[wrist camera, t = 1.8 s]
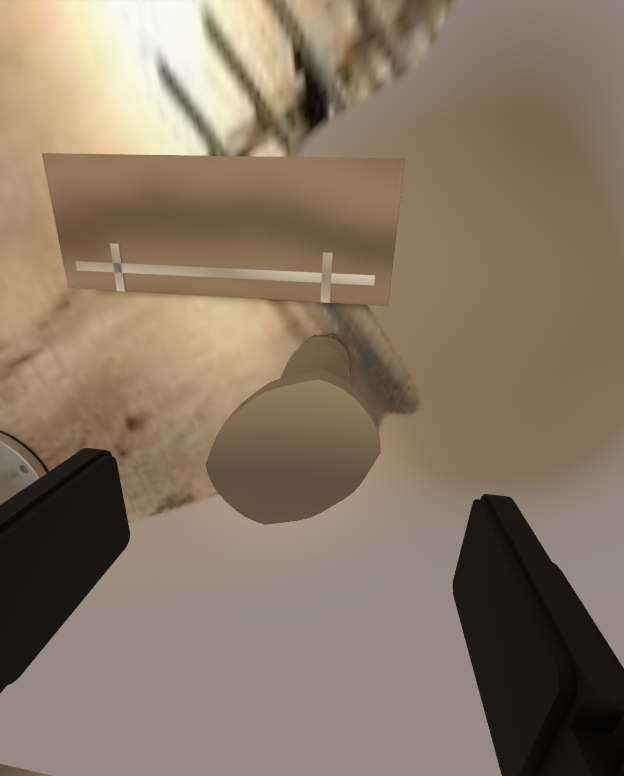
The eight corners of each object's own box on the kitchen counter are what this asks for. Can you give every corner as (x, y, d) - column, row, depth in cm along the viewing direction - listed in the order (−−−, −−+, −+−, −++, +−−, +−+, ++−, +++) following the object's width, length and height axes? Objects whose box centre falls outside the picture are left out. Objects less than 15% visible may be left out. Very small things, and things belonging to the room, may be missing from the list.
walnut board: (384, 301, 24) (388, 306, 22) (93, 285, 26) (66, 288, 24) (399, 170, 21) (405, 158, 19) (72, 164, 24) (40, 152, 21)
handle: (379, 351, 26) (407, 461, 12) (312, 400, 27) (268, 543, 13) (338, 299, 25) (316, 349, 11) (273, 353, 27) (181, 456, 13)
